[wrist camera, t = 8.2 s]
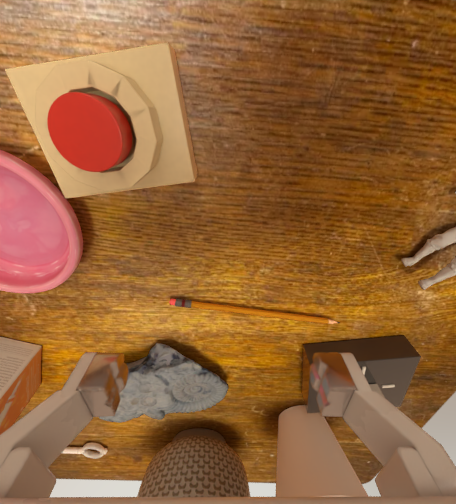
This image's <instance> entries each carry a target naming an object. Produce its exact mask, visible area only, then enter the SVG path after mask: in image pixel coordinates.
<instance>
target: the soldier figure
mask: <svg viewBox="0 0 456 504" xmlns="http://www.w3.org/2000/svg"><path fill="white" fill-rule="evenodd" d="M455 193H456V191H455ZM453 243H456V227H454V228H451V229H449V230H447V231H445V232H444V233H443V234H437V235H435V236H434V237H432V239H427V243H426V244H425V245H424V246H423V247H422V248H421V249H420V250H419V251H418V252H417V253H416V254H415V255H414V257H412V258H411V257H409V258H402V259H401V261H402V262H403V264H404V265H405V266H411V265H414V264H415V263H416V262H418V261H419V260H420V259H421V258H423V257H425V256H427V255H429V254H430V253H432V252H434V251H435V250H440V249H441V248H444V247H446V246H447V245H450V244H453ZM454 275H456V256H455V258H454V259H452V260H451V264H447V266H446V267H445V268H443V269H442V270H440V271H439V272H438V273H437V274H436V275H435V276H433V277H431V278H429V279H424V280H420V281H418V283H419V285H420V286H421V288H422V289H423V290H425V289H426V288H428V287H429V286H432V285H433V284H434V283H437V282H440V281H442V280H444V279H446V278H449V277H452V276H454Z"/></svg>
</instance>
